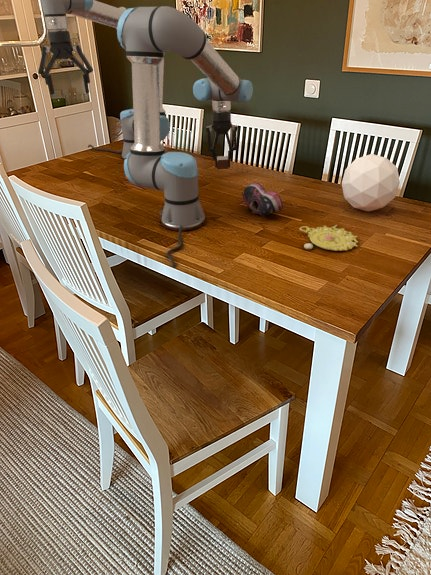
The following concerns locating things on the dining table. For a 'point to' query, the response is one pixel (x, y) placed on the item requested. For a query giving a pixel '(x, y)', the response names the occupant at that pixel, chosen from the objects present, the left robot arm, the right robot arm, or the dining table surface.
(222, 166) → the block
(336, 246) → the decorative object
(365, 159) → the sphere
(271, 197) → the athletic shoe
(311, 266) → the dining table surface
